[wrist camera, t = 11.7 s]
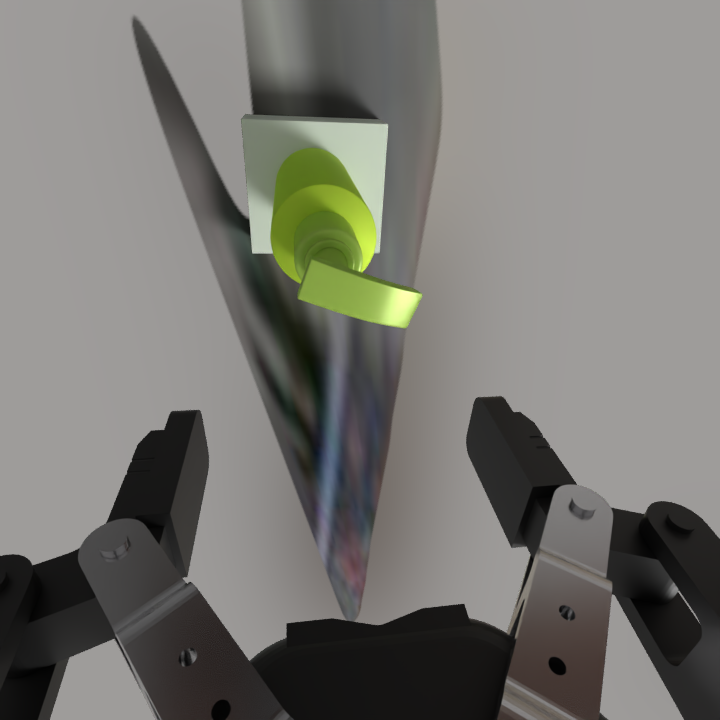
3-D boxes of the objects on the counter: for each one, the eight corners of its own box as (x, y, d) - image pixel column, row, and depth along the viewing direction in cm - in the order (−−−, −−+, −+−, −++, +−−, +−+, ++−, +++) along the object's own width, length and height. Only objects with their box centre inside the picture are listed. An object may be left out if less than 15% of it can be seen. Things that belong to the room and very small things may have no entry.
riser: (245, 114, 36) (241, 119, 33) (379, 119, 38) (388, 124, 35) (255, 238, 42) (252, 253, 38) (372, 238, 43) (379, 252, 40)
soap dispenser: (346, 239, 39) (391, 368, 22) (266, 210, 37) (249, 330, 20) (373, 169, 36) (447, 257, 19) (288, 135, 34) (289, 199, 17)
